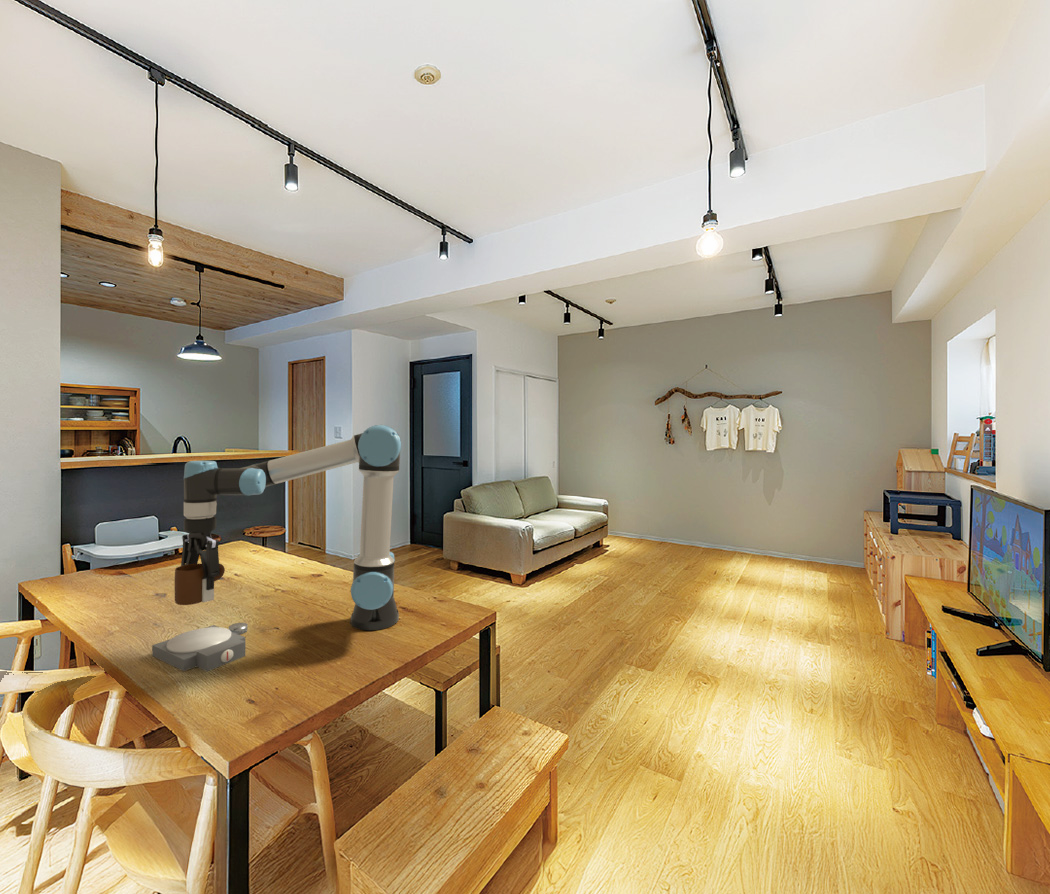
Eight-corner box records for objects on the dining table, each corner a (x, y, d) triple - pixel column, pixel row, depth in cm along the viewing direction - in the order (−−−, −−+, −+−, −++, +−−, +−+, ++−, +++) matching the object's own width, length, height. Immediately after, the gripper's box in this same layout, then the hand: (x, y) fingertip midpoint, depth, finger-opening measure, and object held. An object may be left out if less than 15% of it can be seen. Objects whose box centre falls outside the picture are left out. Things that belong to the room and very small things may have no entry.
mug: (218, 590, 141) (219, 558, 141) (230, 596, 136) (230, 563, 136) (170, 601, 131) (170, 567, 131) (180, 608, 127) (180, 572, 126)
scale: (256, 651, 135) (256, 638, 135) (195, 676, 121) (195, 661, 121) (213, 634, 145) (213, 621, 145) (152, 655, 131) (152, 641, 131)
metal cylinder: (251, 630, 149) (251, 624, 149) (236, 636, 145) (236, 630, 145) (239, 627, 151) (239, 621, 151) (224, 633, 146) (224, 627, 146)
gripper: (235, 518, 132) (234, 601, 132) (194, 510, 141) (194, 587, 142) (206, 522, 125) (206, 609, 126) (165, 514, 135) (165, 594, 135)
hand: (199, 597), depth 134 cm, fingers closed on mug, 7 cm apart
